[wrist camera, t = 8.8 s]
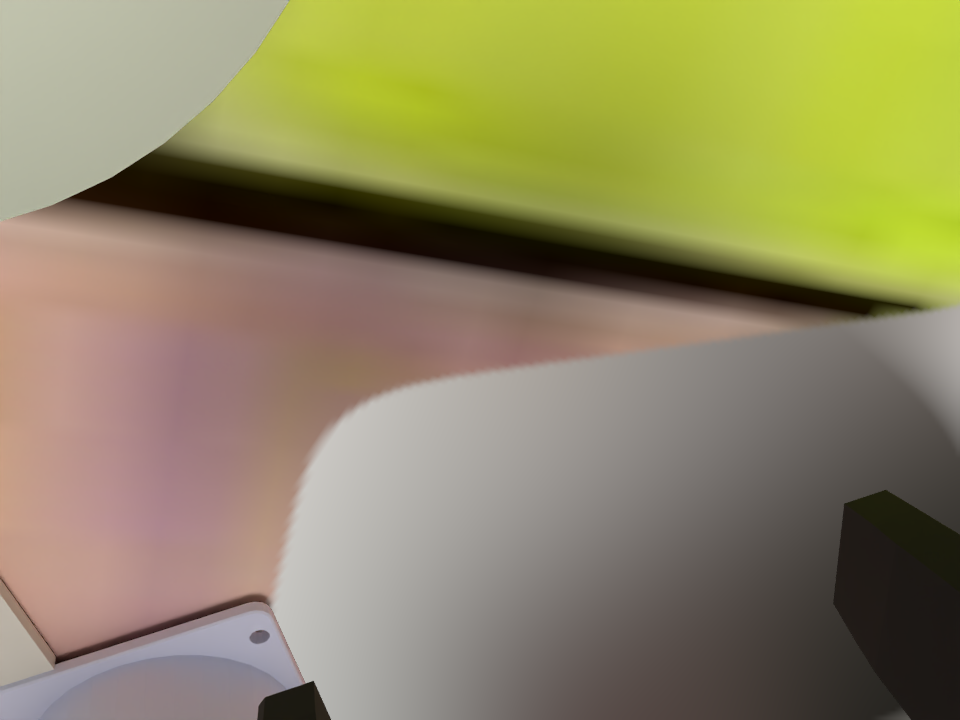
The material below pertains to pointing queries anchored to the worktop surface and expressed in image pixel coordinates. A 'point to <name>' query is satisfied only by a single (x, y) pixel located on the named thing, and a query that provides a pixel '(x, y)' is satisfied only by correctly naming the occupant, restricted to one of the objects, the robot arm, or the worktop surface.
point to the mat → (20, 643)
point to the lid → (109, 84)
